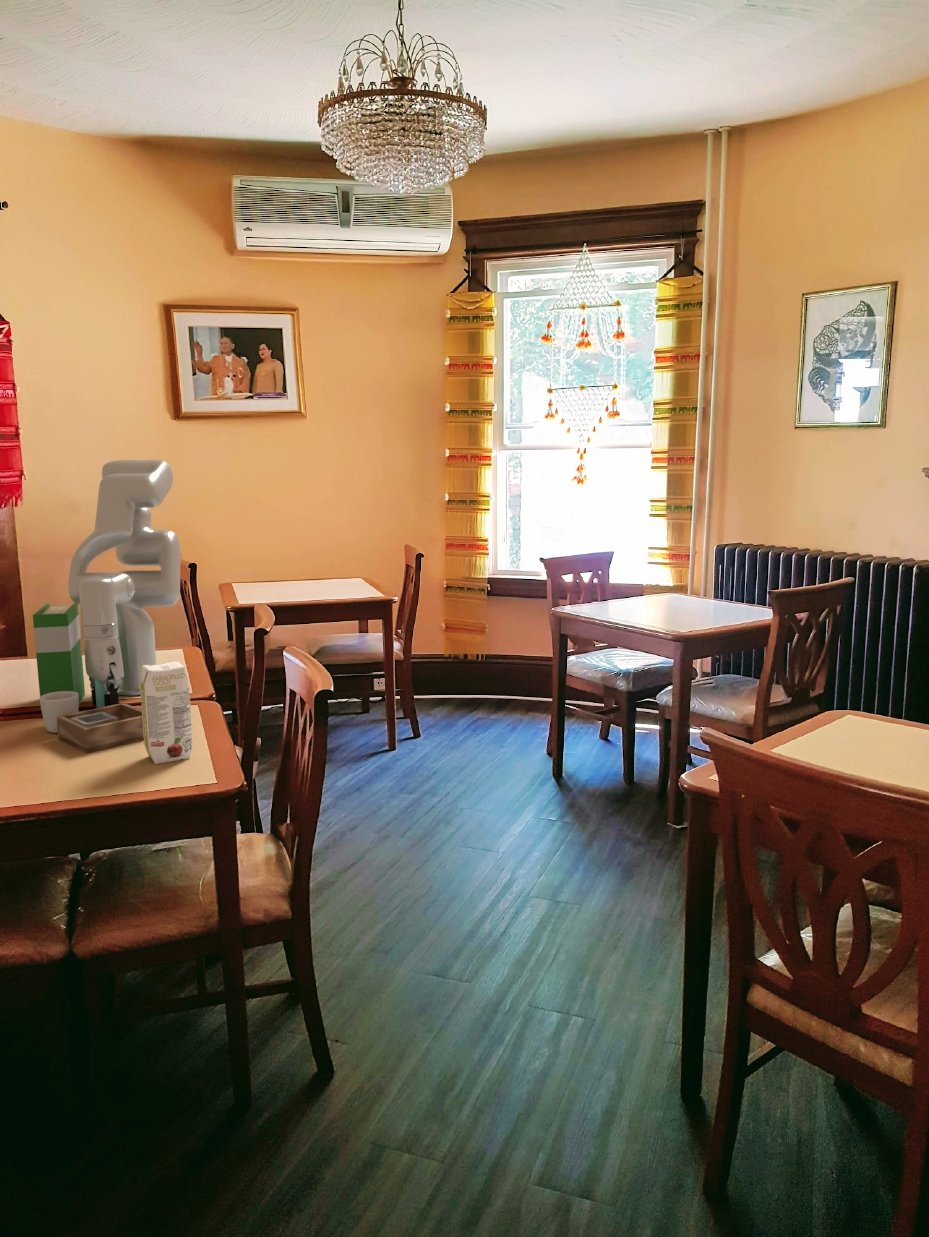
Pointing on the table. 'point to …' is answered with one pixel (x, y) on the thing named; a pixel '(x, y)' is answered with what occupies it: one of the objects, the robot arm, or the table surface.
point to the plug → (100, 692)
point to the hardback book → (59, 650)
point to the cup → (58, 707)
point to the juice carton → (166, 712)
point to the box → (102, 728)
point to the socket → (95, 719)
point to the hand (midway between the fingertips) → (105, 706)
